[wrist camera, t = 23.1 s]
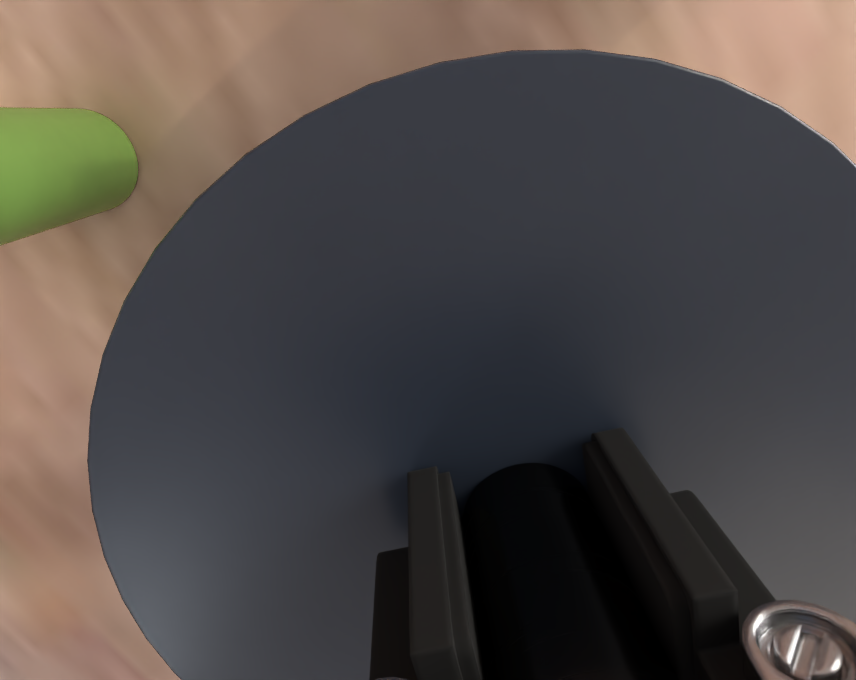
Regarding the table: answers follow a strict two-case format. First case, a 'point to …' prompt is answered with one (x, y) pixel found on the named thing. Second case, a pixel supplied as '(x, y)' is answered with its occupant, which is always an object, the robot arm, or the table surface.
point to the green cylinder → (60, 168)
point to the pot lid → (482, 363)
